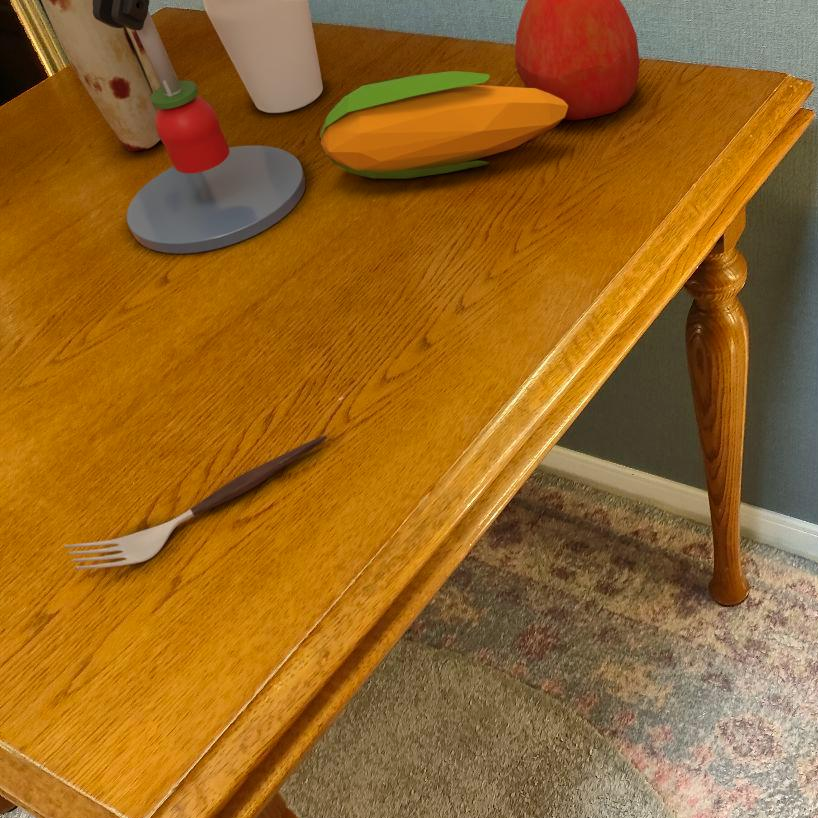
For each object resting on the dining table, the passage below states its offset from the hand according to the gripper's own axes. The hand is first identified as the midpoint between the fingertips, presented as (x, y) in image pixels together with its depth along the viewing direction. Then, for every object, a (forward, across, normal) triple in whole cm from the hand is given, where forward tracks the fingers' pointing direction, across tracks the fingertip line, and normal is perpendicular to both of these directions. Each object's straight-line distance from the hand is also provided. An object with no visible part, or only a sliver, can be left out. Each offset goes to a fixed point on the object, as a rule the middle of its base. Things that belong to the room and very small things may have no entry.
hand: (117, 23), depth 71 cm
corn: (+2, -17, -20) cm, 26 cm away
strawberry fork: (+7, 0, -10) cm, 12 cm away
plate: (+9, 0, -12) cm, 15 cm away
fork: (+29, -25, +7) cm, 39 cm away
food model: (+5, +16, -17) cm, 24 cm away
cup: (-2, +6, -24) cm, 25 cm away
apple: (-6, -23, -28) cm, 37 cm away
